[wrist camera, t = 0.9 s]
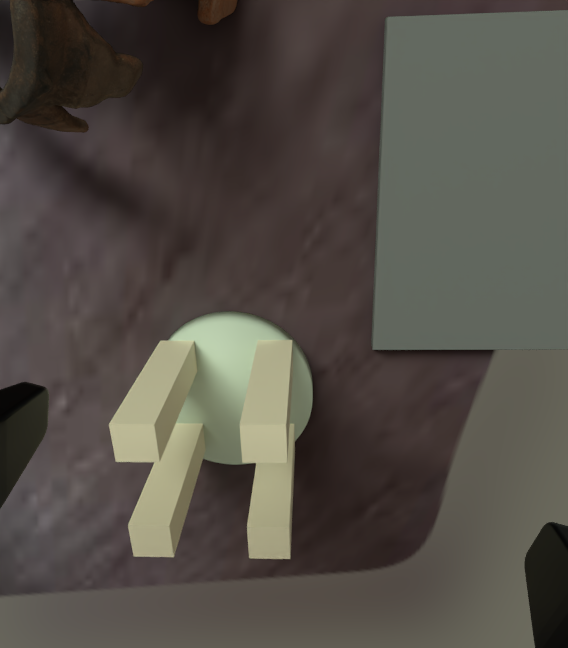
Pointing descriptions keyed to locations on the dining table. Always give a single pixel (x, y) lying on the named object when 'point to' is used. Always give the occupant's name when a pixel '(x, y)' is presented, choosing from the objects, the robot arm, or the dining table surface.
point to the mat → (473, 183)
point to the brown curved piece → (70, 62)
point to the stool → (216, 426)
